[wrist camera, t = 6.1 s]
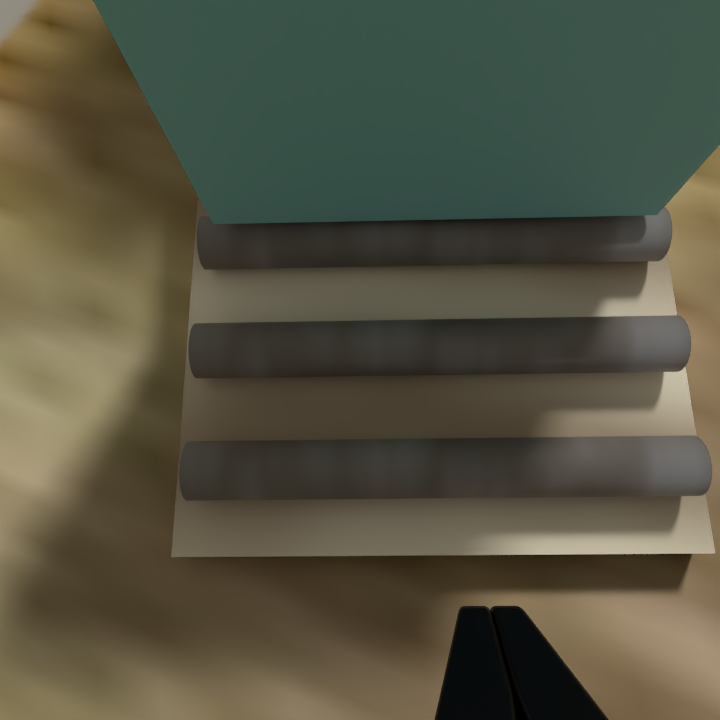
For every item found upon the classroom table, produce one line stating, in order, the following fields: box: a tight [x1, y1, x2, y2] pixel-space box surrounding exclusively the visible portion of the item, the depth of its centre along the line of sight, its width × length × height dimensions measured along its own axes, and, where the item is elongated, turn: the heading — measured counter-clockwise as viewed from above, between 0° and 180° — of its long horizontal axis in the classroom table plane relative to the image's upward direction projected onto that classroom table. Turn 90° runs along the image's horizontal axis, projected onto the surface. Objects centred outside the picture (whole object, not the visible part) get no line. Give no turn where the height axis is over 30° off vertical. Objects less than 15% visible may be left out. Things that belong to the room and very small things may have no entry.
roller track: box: [171, 197, 715, 557], centre depth 15 cm, size 18×13×6 cm
